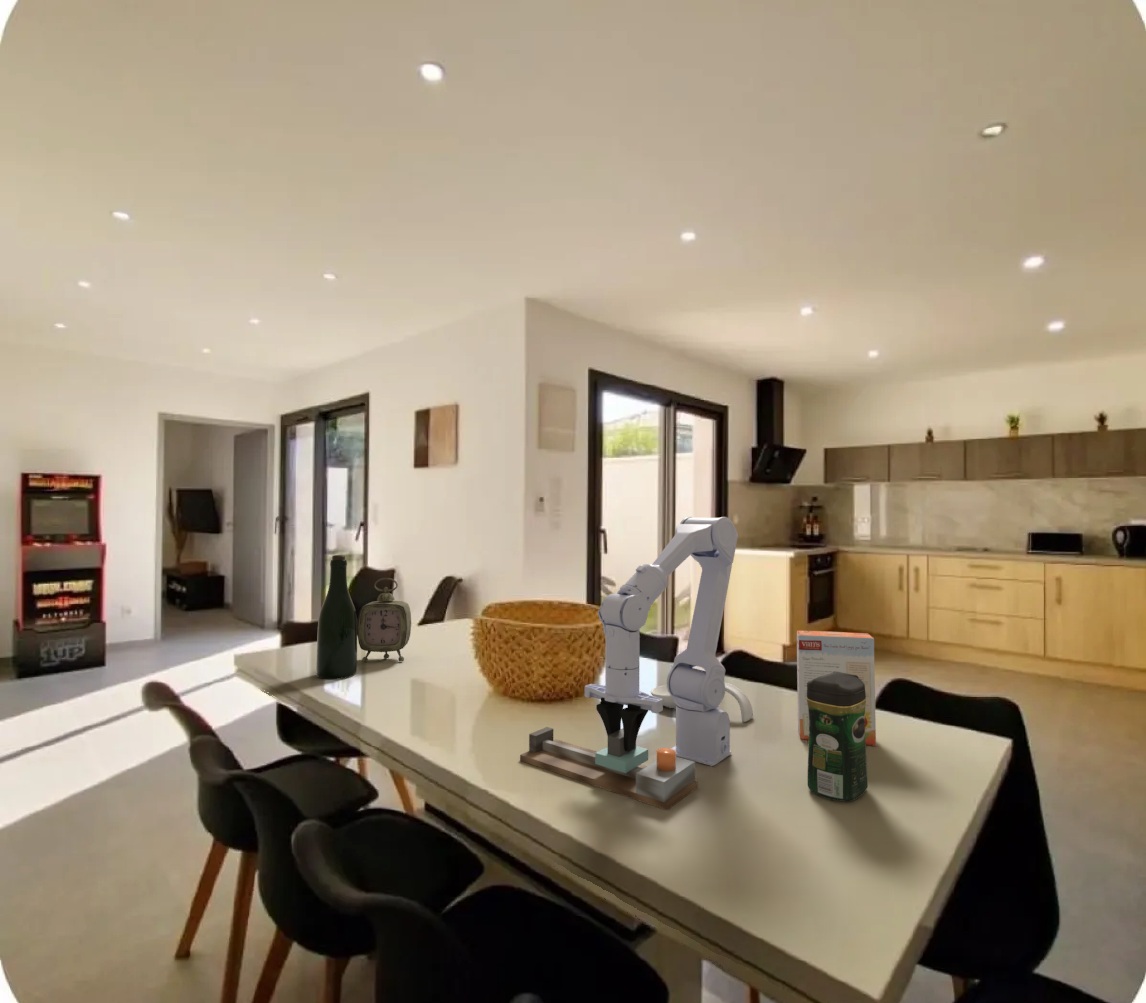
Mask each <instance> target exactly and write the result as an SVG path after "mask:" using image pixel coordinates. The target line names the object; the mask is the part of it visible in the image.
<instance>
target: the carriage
mask: <svg viewBox="0 0 1146 1003" xmlns="http://www.w3.org/2000/svg"><path fill="white" fill-rule="evenodd" d="M648 761H649V749H648V748H645V747H641V746H639V745H637V743H636V744H635V749H633V750H631V751H629V752H627V751H625V749H624V730H623V727H621V729H620V730H618V731H616V732H614V733H612V734H610V735H608V736H607V746H606V747H604V748H602V749H600V750H597V752H596V753H595V764H597V765H600V766H604V767H607V768H610V769H613V770H617V771H620V772H623V773H627V772H628V771H630V770H632V769H634V768H635V767H637V766H639V765H640V764H641V765H643V763H645V762H648Z"/></svg>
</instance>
